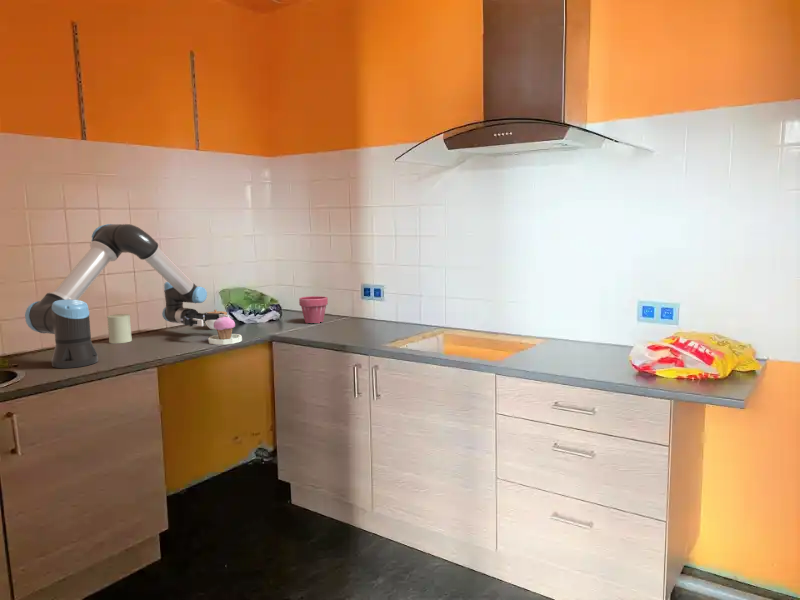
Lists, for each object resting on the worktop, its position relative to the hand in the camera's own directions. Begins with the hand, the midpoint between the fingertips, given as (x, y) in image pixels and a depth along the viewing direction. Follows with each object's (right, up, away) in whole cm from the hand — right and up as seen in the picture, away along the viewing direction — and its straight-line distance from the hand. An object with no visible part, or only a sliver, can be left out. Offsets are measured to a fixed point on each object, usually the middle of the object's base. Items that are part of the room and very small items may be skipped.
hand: (215, 320), depth 263 cm
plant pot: (+37, -3, +43) cm, 57 cm away
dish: (+5, -9, -2) cm, 10 cm away
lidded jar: (-9, -5, +30) cm, 31 cm away
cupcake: (+5, -8, -2) cm, 10 cm away
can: (-42, -9, +1) cm, 43 cm away
